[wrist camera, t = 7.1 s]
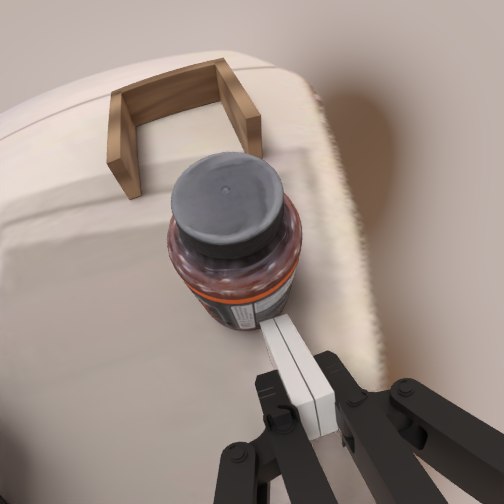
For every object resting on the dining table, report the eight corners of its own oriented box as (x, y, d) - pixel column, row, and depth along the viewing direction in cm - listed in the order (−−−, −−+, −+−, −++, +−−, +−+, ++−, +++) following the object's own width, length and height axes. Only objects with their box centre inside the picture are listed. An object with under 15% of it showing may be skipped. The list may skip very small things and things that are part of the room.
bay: (261, 158, 25) (260, 115, 21) (129, 199, 24) (106, 163, 19) (227, 93, 30) (223, 57, 26) (125, 124, 29) (111, 92, 24)
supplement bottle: (188, 277, 21) (123, 175, 10) (259, 237, 22) (252, 114, 12) (230, 349, 18) (185, 306, 8) (305, 302, 19) (347, 210, 9)
